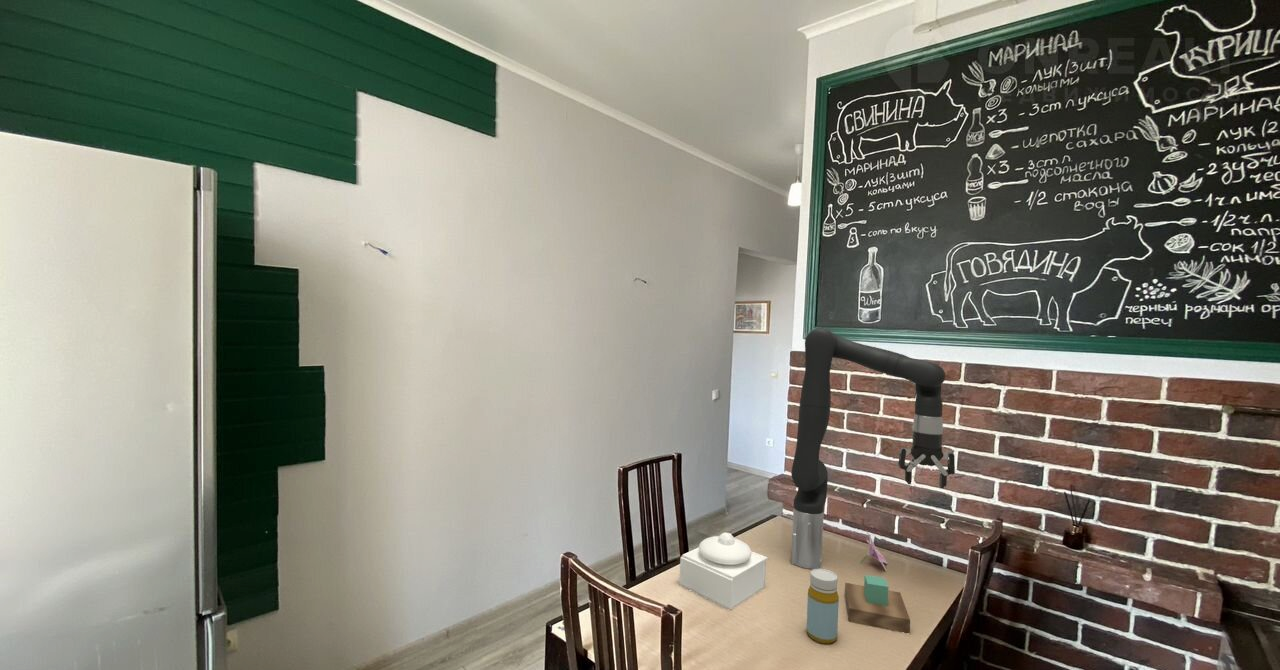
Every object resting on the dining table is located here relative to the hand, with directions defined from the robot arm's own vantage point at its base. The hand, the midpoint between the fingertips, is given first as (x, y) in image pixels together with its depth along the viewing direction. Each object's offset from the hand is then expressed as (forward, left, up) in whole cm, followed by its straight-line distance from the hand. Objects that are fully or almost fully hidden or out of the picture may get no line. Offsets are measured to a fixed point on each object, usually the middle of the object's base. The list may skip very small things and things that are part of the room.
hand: (925, 485), depth 147 cm
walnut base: (-15, -20, -31) cm, 40 cm away
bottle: (-29, -36, -30) cm, 55 cm away
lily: (-11, +10, -30) cm, 34 cm away
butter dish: (-55, -21, -30) cm, 66 cm away
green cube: (-15, -20, -27) cm, 36 cm away
